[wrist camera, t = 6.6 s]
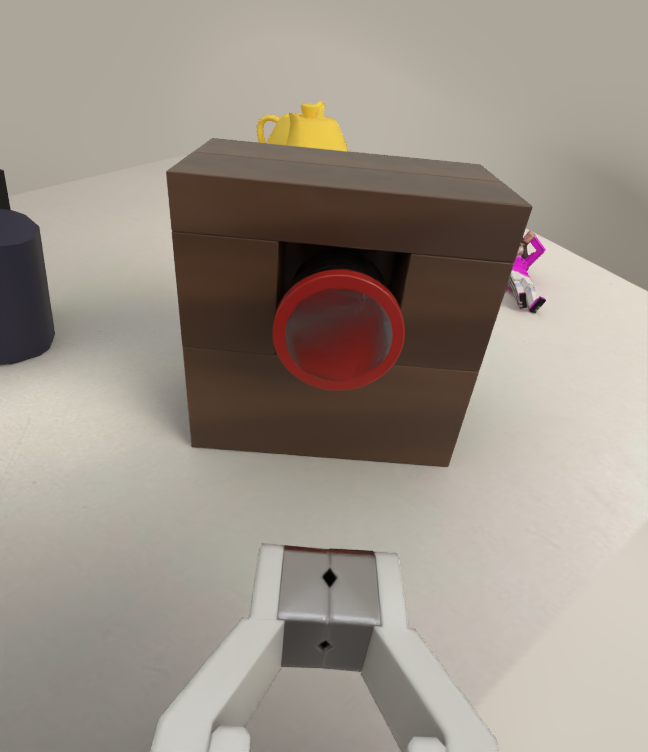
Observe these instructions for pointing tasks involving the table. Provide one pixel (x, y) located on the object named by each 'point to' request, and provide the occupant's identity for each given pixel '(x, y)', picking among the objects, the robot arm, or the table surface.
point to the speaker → (22, 286)
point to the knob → (338, 322)
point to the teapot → (304, 129)
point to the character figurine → (526, 274)
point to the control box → (316, 234)
